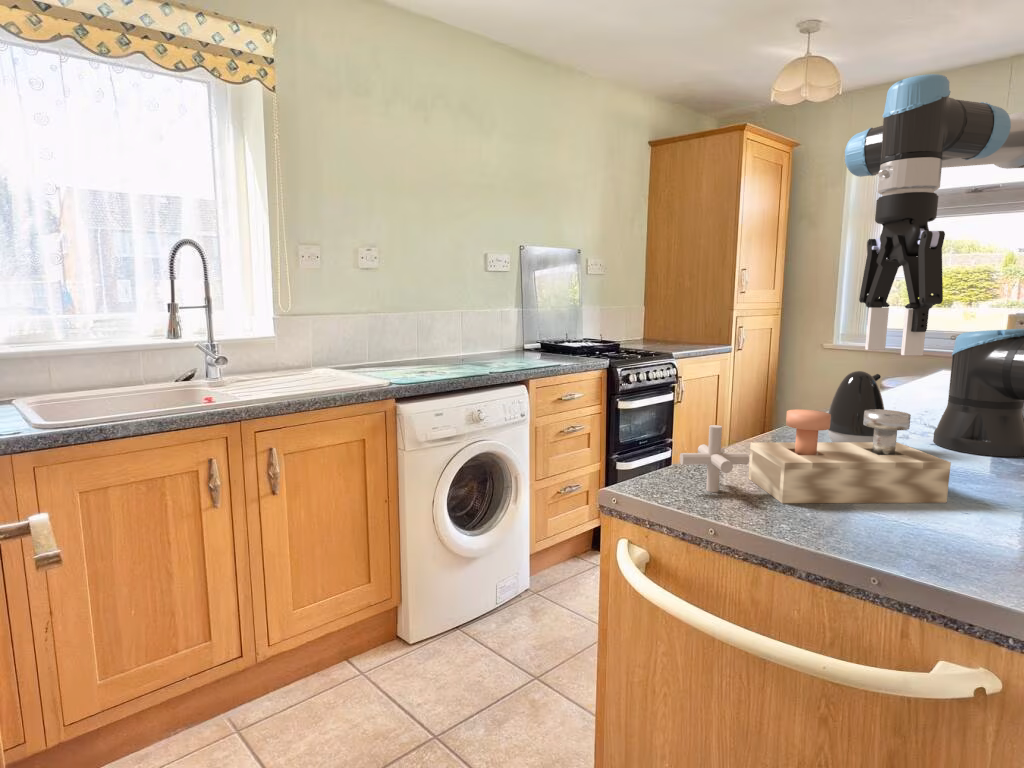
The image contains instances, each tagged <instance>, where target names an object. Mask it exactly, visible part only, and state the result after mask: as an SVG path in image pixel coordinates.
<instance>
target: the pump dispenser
mask: <svg viewBox="0 0 1024 768" xmlns="http://www.w3.org/2000/svg"><path fill="white" fill-rule="evenodd" d="M881 378H882V376H881V374H879V373H876V374H874V375H871V374H870V373H869V372H866V371H863V370H856V371H855V370H854V371H852V372H849V373H848V374H847V375H845V377H844V378H843V379H842V380H841V382H840V384H839V385H838V386H837V388H836V391H835V393H834V396H833V397H832V400H831V402H830V406H829V409H828V411H827V413H829V414H831V421H830V429H828V430H827V433H828V436H829V439H830V440H831V442H873V436H874V428H872V427H868V426H865V425H864V424H863V421H864V411H865V410H871V409H881V410H885V405H884V401H883V397H882V396H883V395H882V393H881V390H880V387H879V384H878V383H877V382H878V380H880V379H881Z"/></svg>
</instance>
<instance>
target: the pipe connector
mask: <svg viewBox="0 0 1024 768" xmlns="http://www.w3.org/2000/svg"><path fill="white" fill-rule="evenodd" d="M708 427H709V429H708V445H707V444H704V443H703V444H699V446H698V448H697V452H680V453H679V463H680V465H681V466H683V465H686V466H687V465H689V466H691V465H692V466H693V465H694V466H695V465H697V466H699V465H704V466H705V465H707V466H706V467H707V468H706V469H707V470H706V486H705V489H706V491H707V492H709V493H718V492H719V489H720V488H719V487H720V472H722V473H724V474H729V473H730V472H732V471H733V468H734V465H748V464H749V461H750V455H749V454H748V452H721V451H722V438H723V437H722V435H723V433H722V431H723V426H722V425H718V424H710V425H709V426H708Z"/></svg>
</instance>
